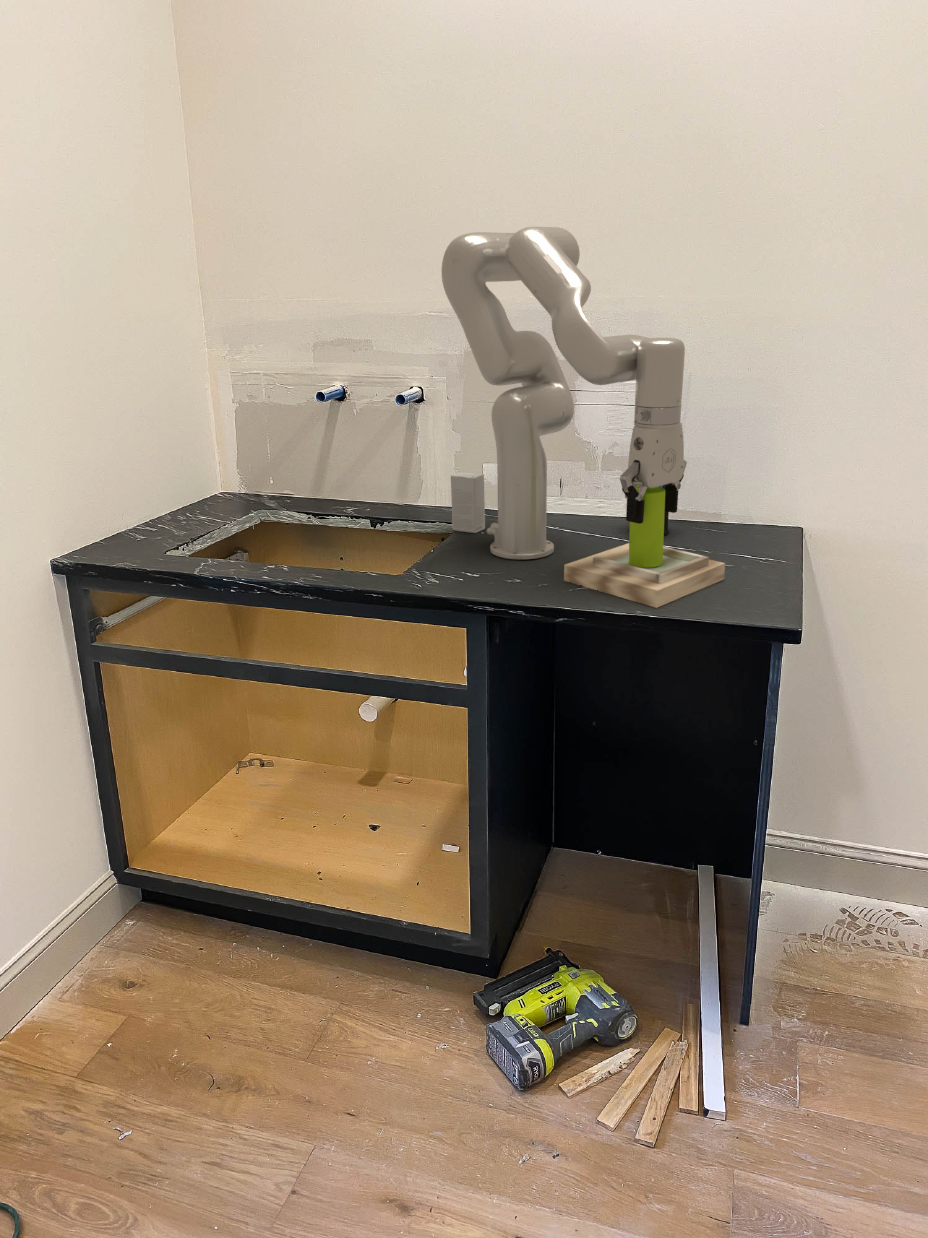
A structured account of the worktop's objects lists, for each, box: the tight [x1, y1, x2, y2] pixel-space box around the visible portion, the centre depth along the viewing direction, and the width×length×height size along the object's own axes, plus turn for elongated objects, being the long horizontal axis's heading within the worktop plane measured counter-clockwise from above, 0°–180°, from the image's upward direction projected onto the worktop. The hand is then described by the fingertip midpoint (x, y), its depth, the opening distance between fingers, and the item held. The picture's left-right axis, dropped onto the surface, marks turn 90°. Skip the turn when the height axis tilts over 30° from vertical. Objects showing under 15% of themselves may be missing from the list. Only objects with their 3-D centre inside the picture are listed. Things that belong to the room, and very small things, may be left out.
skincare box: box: [450, 471, 486, 534], centre depth 192 cm, size 6×4×12 cm
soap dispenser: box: [628, 481, 665, 568], centre depth 155 cm, size 6×7×20 cm
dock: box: [563, 542, 726, 609], centre depth 159 cm, size 20×20×4 cm
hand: (651, 516), depth 155 cm, fingers open, 9 cm apart
